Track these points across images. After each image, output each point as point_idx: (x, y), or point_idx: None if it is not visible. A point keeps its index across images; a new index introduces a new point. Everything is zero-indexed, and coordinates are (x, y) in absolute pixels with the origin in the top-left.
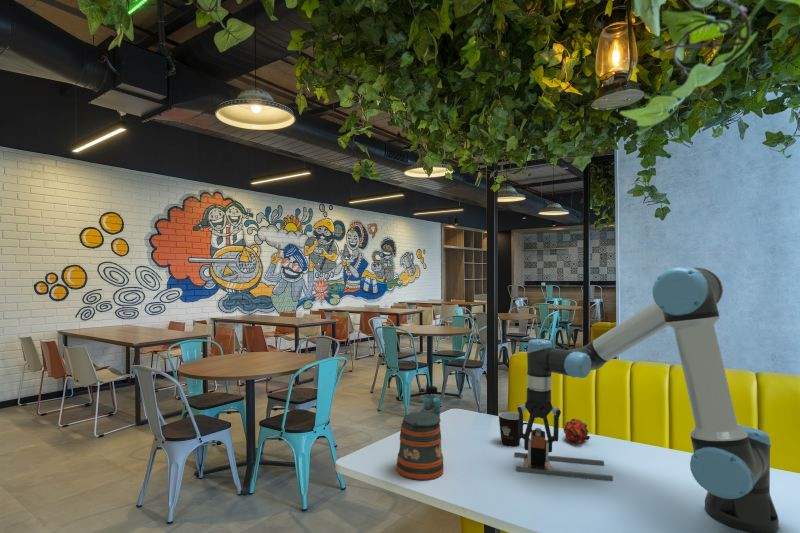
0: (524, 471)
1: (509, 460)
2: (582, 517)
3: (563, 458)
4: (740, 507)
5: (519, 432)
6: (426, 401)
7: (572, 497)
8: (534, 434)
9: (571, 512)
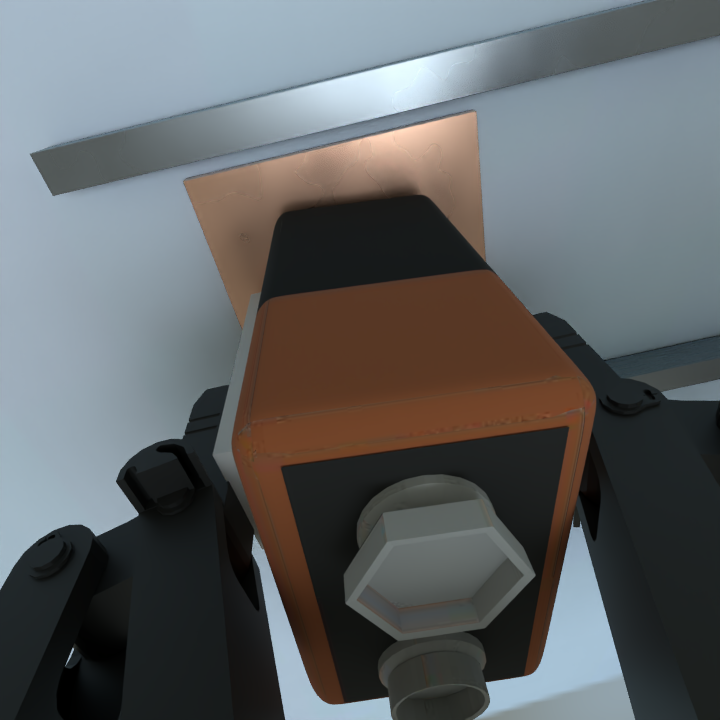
0: None
1: (73, 300)
2: (569, 664)
3: (669, 45)
4: None
5: (72, 717)
6: None
7: (564, 578)
8: (361, 665)
9: None
